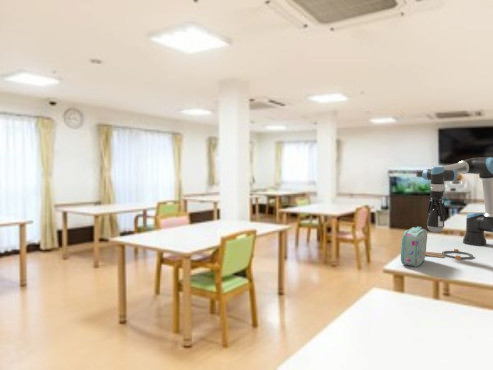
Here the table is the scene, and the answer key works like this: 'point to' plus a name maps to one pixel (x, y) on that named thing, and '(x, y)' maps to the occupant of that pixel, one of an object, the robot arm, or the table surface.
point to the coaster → (434, 254)
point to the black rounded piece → (434, 221)
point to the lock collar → (457, 255)
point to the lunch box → (414, 246)
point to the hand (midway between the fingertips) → (435, 224)
